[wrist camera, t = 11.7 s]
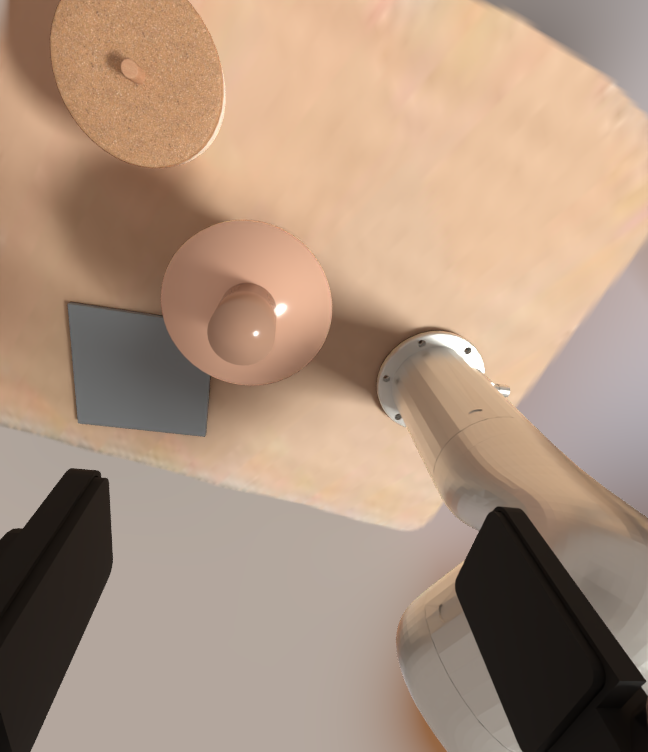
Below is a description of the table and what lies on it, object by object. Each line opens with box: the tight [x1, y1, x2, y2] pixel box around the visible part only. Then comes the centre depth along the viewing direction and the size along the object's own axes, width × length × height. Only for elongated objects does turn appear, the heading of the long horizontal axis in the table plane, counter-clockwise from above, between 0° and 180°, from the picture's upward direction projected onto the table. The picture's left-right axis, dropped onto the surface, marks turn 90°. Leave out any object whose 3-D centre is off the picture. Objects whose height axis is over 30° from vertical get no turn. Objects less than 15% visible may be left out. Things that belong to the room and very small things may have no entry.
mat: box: [68, 302, 210, 437], centre depth 43 cm, size 14×14×1 cm
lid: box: [161, 220, 332, 386], centre depth 26 cm, size 12×12×6 cm
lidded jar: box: [50, 0, 226, 168], centre depth 28 cm, size 11×11×9 cm
